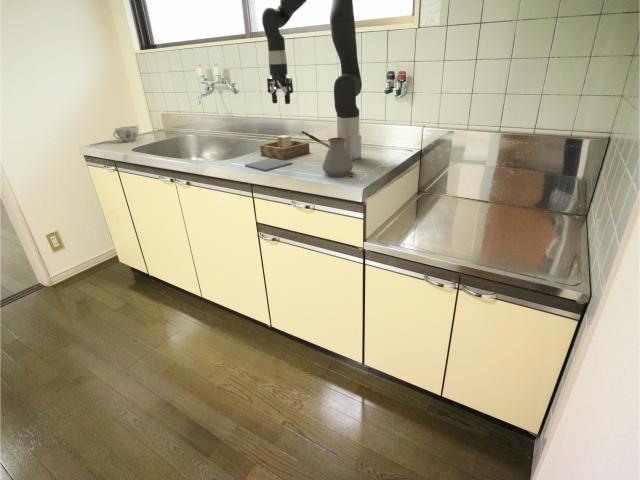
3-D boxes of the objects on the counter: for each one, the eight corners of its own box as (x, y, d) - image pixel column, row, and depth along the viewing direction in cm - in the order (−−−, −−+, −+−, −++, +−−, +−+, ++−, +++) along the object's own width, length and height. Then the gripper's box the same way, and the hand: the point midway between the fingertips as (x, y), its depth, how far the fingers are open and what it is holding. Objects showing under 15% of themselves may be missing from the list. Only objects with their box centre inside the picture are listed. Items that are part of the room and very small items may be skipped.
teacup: (133, 138, 233) (130, 125, 229) (145, 140, 226) (142, 126, 222) (110, 143, 222) (106, 129, 218) (121, 144, 215) (117, 130, 211)
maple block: (292, 153, 176) (290, 136, 173) (284, 155, 173) (283, 137, 170) (285, 152, 179) (284, 135, 176) (278, 154, 176) (277, 136, 173)
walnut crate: (309, 152, 176) (309, 142, 174) (283, 159, 166) (282, 149, 164) (287, 148, 186) (286, 139, 185) (261, 154, 176) (260, 145, 174)
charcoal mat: (292, 163, 158) (292, 162, 158) (265, 171, 150) (265, 169, 149) (271, 159, 167) (270, 158, 167) (244, 166, 159) (244, 164, 158)
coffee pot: (358, 171, 143) (358, 131, 137) (344, 179, 135) (343, 136, 128) (310, 166, 154) (308, 128, 147) (294, 173, 145) (291, 133, 138)
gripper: (295, 62, 158) (298, 103, 165) (274, 63, 167) (277, 102, 174) (282, 62, 153) (285, 105, 160) (260, 63, 162) (264, 103, 169)
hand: (281, 103), depth 167 cm, fingers open, 8 cm apart
